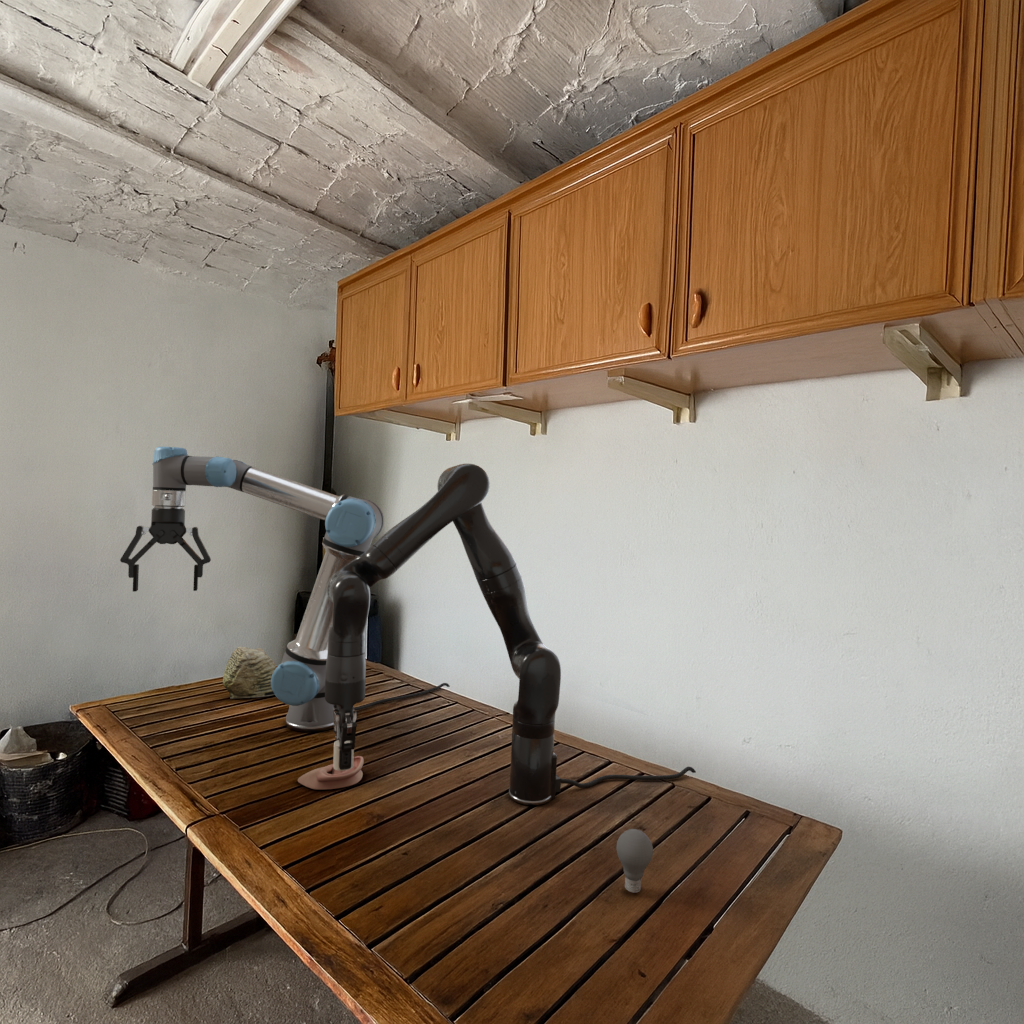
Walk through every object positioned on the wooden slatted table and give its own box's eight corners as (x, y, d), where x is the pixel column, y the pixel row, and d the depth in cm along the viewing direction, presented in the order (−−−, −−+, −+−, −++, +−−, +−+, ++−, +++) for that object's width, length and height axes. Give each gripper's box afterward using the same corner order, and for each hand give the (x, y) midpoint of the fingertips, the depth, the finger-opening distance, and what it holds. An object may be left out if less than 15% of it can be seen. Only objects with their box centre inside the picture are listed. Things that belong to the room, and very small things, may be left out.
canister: (356, 768, 122) (357, 743, 122) (337, 772, 120) (338, 747, 120) (348, 761, 125) (349, 737, 125) (330, 765, 123) (330, 741, 123)
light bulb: (610, 879, 108) (613, 822, 108) (644, 879, 109) (647, 822, 109) (619, 902, 102) (622, 840, 102) (655, 901, 103) (658, 840, 103)
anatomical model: (290, 768, 137) (317, 748, 149) (290, 786, 138) (316, 764, 149) (347, 776, 135) (370, 755, 146) (346, 794, 135) (369, 772, 146)
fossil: (218, 695, 195) (220, 647, 195) (278, 685, 208) (279, 640, 207) (228, 703, 189) (230, 653, 188) (289, 692, 201) (290, 645, 201)
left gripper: (108, 506, 154) (105, 593, 154) (221, 509, 163) (218, 591, 163) (115, 505, 161) (112, 588, 161) (222, 508, 170) (220, 587, 170)
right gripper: (371, 684, 117) (369, 776, 117) (359, 665, 130) (357, 747, 130) (330, 688, 114) (327, 782, 114) (321, 667, 127) (319, 752, 128)
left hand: (165, 590), depth 162 cm, fingers open, 13 cm apart
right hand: (343, 763), depth 122 cm, fingers closed on canister, 3 cm apart
